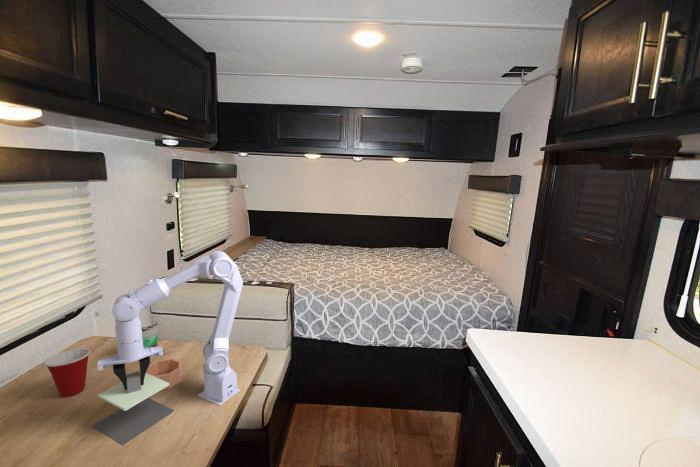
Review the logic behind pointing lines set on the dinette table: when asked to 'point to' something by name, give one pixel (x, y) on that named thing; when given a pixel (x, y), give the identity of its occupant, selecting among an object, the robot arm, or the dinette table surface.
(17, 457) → the dinette table surface
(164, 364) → the bowl
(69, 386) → the plastic cup
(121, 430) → the mat
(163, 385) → the sheet
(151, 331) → the food container
